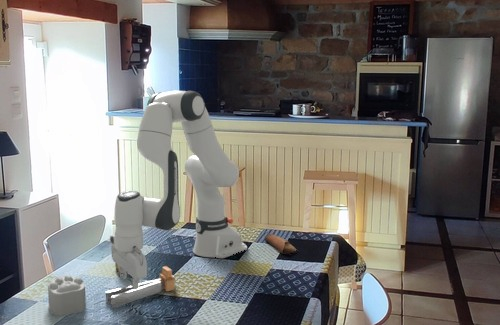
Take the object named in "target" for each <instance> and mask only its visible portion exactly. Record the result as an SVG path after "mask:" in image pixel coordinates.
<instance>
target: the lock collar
mask: <svg viewBox="0 0 500 325" xmlns="http://www.w3.org/2000/svg"><path fill="white" fill-rule="evenodd" d="M158 275H159V276H158V279H160V278H163V279H164V280H165V289H164V290H165V292H170V291H175V289H176V288H175V286H176V283H175V282H176V280H175V278H176V277H174V276H175V275H173V270H172V269H171V268H169V267H168V266H167V265H166V266H165V265H164V266H162V267H161V273H159V274H158ZM172 275H173V276H172Z"/></svg>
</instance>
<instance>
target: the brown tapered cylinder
mask: <svg viewBox="0 0 500 325" xmlns="http://www.w3.org/2000/svg"><path fill="white" fill-rule="evenodd" d="M264 241H265V243H268V244H269V245H270V246H272V247H273V248H274V249H276V250H277V251H278V252H279V253H281V255H283V253H290V252H294V251H296V250H297V249H296V247H295V246H293V245H292V244H291V243H290V241H289V240H287V239H286V238H283V237H281V236H279V235H275V234H273V233H272V234H271V233H267V234H266V235H265V236H264Z"/></svg>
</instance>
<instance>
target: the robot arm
mask: <svg viewBox="0 0 500 325" xmlns="http://www.w3.org/2000/svg"><path fill="white" fill-rule="evenodd" d="M205 105H206V103H205V100H204V98H203V97H202V95H201V94H200V93H199V92H197V91H194V90H187V91H186V90H172V91H165V92H157V93H154V94H152V95H151V96H150V97H149V98H148V101H147V105H146V107H145V109H144V112H143V115H142V117H141V120H140V124H139V128H138V132H137V141H136V145H137V150H138V151H139V153H140V155H141V156H142V157H143V158H145V159H146V160H147V161H149V162H151V163H153V164H155V165H157V166H158V167H159V168H160V169H161V170H162V173H163V196H162V198H158V197H157V198H156V197H149V196H143V195H142V194H141V192H139V191H136V190H127V191H122V192H119V193H118V194H117V196H116V198H115V204H114V212H113V213H114V216H113V218H114V224H115V229H114V234H112V235H110V236H109V242H110V243H111V244H110V245H111V246H110V248H111V249H110V251H111V259H112V261H113V262H114V264H115V263H116V264H118V268H119V271H120V273H119V276H120V279H122V280H125V279H127V278H128V276H127V275H128V274H129V275H130V276H131V277H132V282H131V285H132V288H133V289H138V288H139V283H141V280H144V279H147V276H148V265H147V258H146V255H145V253H143V251H142V249H143V248H144V231H143V227H150V228H156V229H158V230H159V229H160V230H163V231H170V230H172V229H173V228H174V227H176V225H178V224H179V221H180V219H181V218H180V217H181V209H180V208H181V206H180V199H179V198H180V197H179V160H178V155H177V153H176V152H175V151H173V149H172V148H173V147H172V143H171V140H172V133H173V123H181V127H182V129H183V134H184V137H185V140H186V143H187V146H188V148H189V150H190V151H191V153H192V154H194V155H190V156H189V157H188V158H187V159H186V162H185V164H184V171H185V174H186V175H187V177H188V179H190V181H191V184H192V187H193V189H194V192H195V198H196V218H195V232H196V234H195V240H194V245H193V248H192V253H193V254H195V255H196V256H198V257H204V258H215V257H216V259H225V258H228V257H230V256H234V255H236V253H237V254H239V253H242V252H245V251H248V246H247V245H246V243H244V242H243V240H242V236H241V234H240V233H239V231H237V230H236V229H234V228H233V227H232V226H230V225H229V224H233V222H234V219H233V218H231V217H227V216H225V215H226V214H225V213H226V212H225V211H226V201H225V199H226V198H225V197H224V195H223V194H222V193H221V191H220V189H219V188H231V187H233V186H235V184H237V182H238V181H239V178H240V170H239V168H238V165H237V164H236V163H234V162H233V161H232V160H231V159H230V158H229V157H228V155H227V153H226V152H225V151H224V149H223V148H222V146H221V144H220V143H219V140H218V138H217V136H216V132H215V129H214V127H213V124H212V119H211V116H210V114H209V112H208V110H207V108H206V106H205ZM244 250H245V251H244ZM241 251H242V252H241ZM238 252H239V253H238ZM233 254H234V255H233ZM126 272H127V273H126Z"/></svg>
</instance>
